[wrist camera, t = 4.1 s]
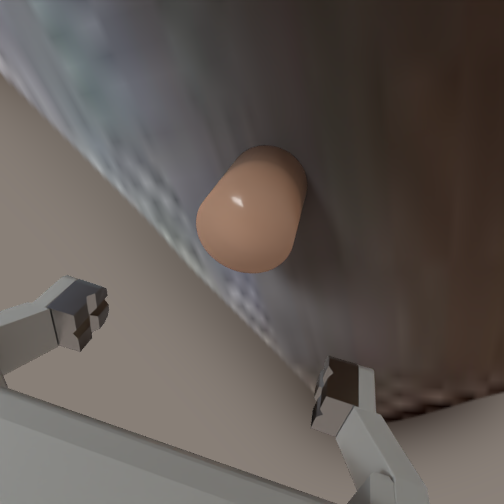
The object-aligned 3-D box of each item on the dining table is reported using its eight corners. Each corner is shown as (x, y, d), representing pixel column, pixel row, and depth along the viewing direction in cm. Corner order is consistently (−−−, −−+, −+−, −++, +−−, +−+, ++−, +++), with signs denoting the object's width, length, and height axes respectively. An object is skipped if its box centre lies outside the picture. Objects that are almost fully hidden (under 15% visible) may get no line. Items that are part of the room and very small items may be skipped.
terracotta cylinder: (225, 208, 24) (193, 258, 19) (234, 136, 21) (200, 173, 16) (296, 228, 24) (282, 283, 19) (316, 156, 21) (305, 201, 16)
